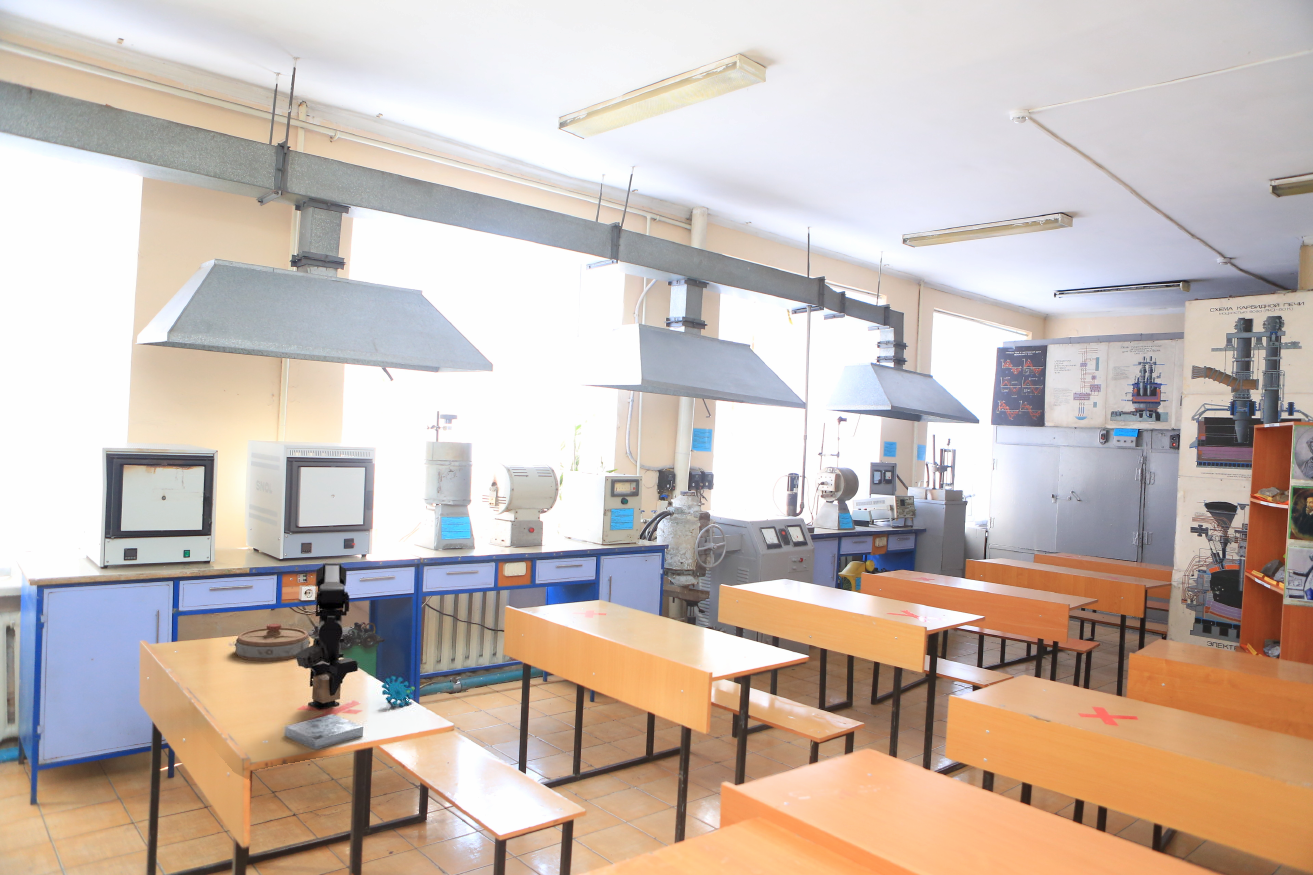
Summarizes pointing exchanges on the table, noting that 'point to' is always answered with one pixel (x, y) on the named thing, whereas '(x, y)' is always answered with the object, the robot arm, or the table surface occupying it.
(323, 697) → the walnut block
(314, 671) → the robot arm
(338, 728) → the base plate
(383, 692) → the blue spiky blob
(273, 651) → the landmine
